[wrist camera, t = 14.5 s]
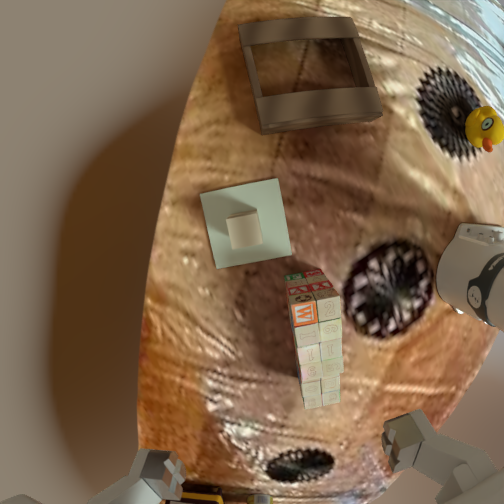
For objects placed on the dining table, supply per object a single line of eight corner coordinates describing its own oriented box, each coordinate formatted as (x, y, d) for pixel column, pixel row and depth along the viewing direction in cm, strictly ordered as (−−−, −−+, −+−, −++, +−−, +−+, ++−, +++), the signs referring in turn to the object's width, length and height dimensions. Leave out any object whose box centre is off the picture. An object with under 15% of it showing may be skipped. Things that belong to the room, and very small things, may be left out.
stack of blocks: (329, 371, 50) (344, 414, 38) (297, 378, 51) (305, 422, 39) (320, 267, 46) (340, 295, 34) (282, 274, 46) (290, 305, 34)
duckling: (469, 162, 40) (503, 161, 30) (452, 144, 40) (486, 139, 30) (484, 121, 38) (515, 115, 28) (468, 103, 37) (499, 94, 28)
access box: (342, 30, 36) (351, 15, 31) (370, 121, 40) (383, 114, 34) (239, 39, 37) (237, 23, 32) (261, 135, 41) (262, 128, 36)
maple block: (257, 208, 43) (256, 213, 36) (262, 234, 44) (262, 243, 37) (231, 214, 43) (225, 219, 36) (236, 239, 44) (232, 249, 37)
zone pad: (277, 178, 42) (277, 178, 42) (291, 254, 45) (291, 254, 44) (200, 194, 43) (199, 194, 43) (217, 268, 46) (216, 269, 45)
